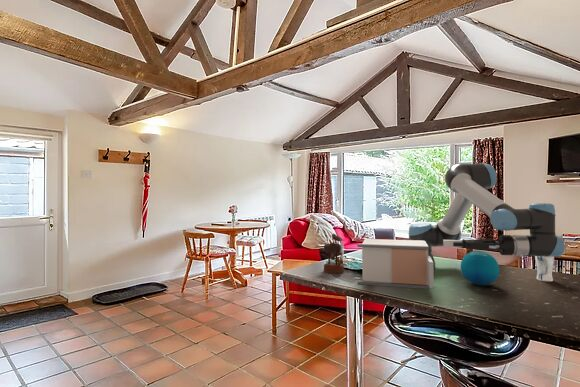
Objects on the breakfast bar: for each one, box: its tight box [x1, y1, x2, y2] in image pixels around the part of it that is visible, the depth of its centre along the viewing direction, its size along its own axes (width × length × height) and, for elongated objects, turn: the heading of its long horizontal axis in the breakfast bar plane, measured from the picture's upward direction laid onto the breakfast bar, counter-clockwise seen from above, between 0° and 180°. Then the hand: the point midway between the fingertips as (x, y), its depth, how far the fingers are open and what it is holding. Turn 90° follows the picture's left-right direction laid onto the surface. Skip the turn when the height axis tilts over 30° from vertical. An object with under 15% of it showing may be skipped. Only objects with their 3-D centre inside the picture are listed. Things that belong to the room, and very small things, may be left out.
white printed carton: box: [534, 256, 555, 283], centre depth 154 cm, size 7×7×15 cm
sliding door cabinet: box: [356, 238, 430, 290], centre depth 156 cm, size 30×18×18 cm, turn 73°
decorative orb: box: [460, 250, 500, 287], centre depth 148 cm, size 15×15×15 cm
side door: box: [392, 248, 435, 289], centre depth 140 cm, size 16×14×15 cm
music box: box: [318, 233, 345, 275], centre depth 176 cm, size 15×11×20 cm
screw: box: [339, 241, 347, 263], centre depth 193 cm, size 13×5×5 cm
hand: (443, 243), depth 132 cm, fingers closed
